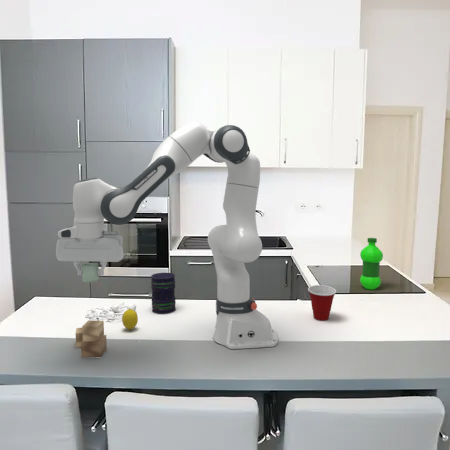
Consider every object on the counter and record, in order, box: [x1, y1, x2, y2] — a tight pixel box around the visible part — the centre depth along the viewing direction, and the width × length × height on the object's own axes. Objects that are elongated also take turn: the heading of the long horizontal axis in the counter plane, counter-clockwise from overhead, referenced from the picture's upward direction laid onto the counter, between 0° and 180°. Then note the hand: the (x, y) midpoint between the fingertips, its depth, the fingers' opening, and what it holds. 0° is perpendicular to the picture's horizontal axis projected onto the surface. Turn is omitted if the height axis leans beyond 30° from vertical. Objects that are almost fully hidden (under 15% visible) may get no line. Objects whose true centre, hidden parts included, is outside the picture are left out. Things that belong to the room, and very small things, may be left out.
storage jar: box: [150, 272, 176, 315], centre depth 171 cm, size 10×10×15 cm
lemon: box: [121, 309, 139, 331], centre depth 150 cm, size 6×6×8 cm
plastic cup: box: [307, 284, 337, 321], centre depth 161 cm, size 11×11×12 cm
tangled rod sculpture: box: [85, 302, 137, 321], centre depth 165 cm, size 19×14×4 cm
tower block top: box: [81, 319, 105, 342], centre depth 130 cm, size 5×5×5 cm
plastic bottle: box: [359, 237, 384, 291], centre depth 202 cm, size 10×10×25 cm
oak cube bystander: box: [75, 327, 83, 349], centre depth 137 cm, size 5×5×5 cm
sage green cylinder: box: [81, 262, 100, 283], centre depth 127 cm, size 5×5×5 cm
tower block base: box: [80, 334, 108, 358], centre depth 130 cm, size 6×6×5 cm
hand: (90, 275), depth 127 cm, fingers closed on sage green cylinder, 5 cm apart
